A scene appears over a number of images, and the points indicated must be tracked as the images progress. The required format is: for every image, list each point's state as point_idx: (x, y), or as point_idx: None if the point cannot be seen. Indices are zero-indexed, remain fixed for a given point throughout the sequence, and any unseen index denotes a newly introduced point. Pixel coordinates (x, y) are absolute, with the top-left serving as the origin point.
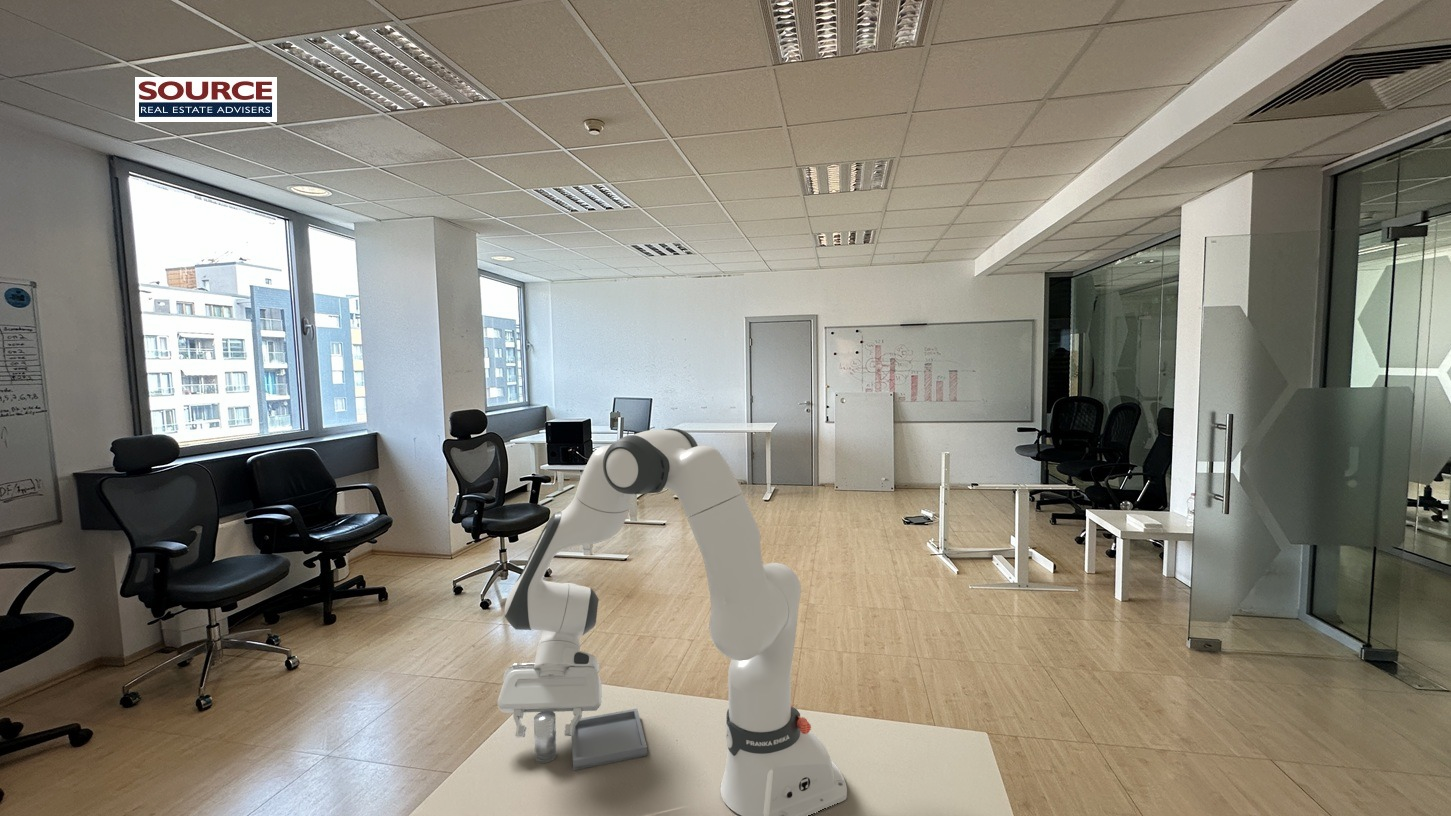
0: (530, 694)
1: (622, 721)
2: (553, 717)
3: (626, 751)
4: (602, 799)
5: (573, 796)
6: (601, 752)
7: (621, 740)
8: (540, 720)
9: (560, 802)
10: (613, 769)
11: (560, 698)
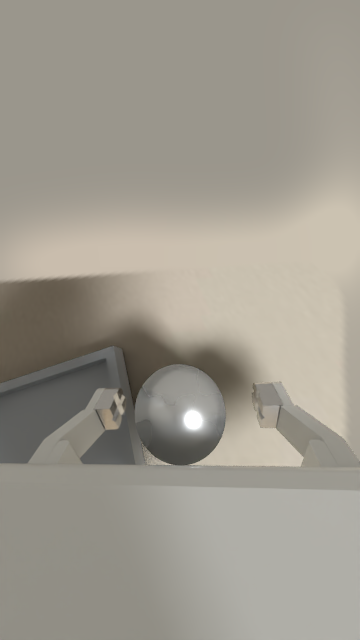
0: (329, 585)
1: None
2: (139, 405)
3: (6, 382)
4: (67, 286)
5: (112, 289)
6: (66, 397)
7: (22, 444)
8: (187, 381)
9: (130, 276)
10: (50, 356)
11: (91, 516)
